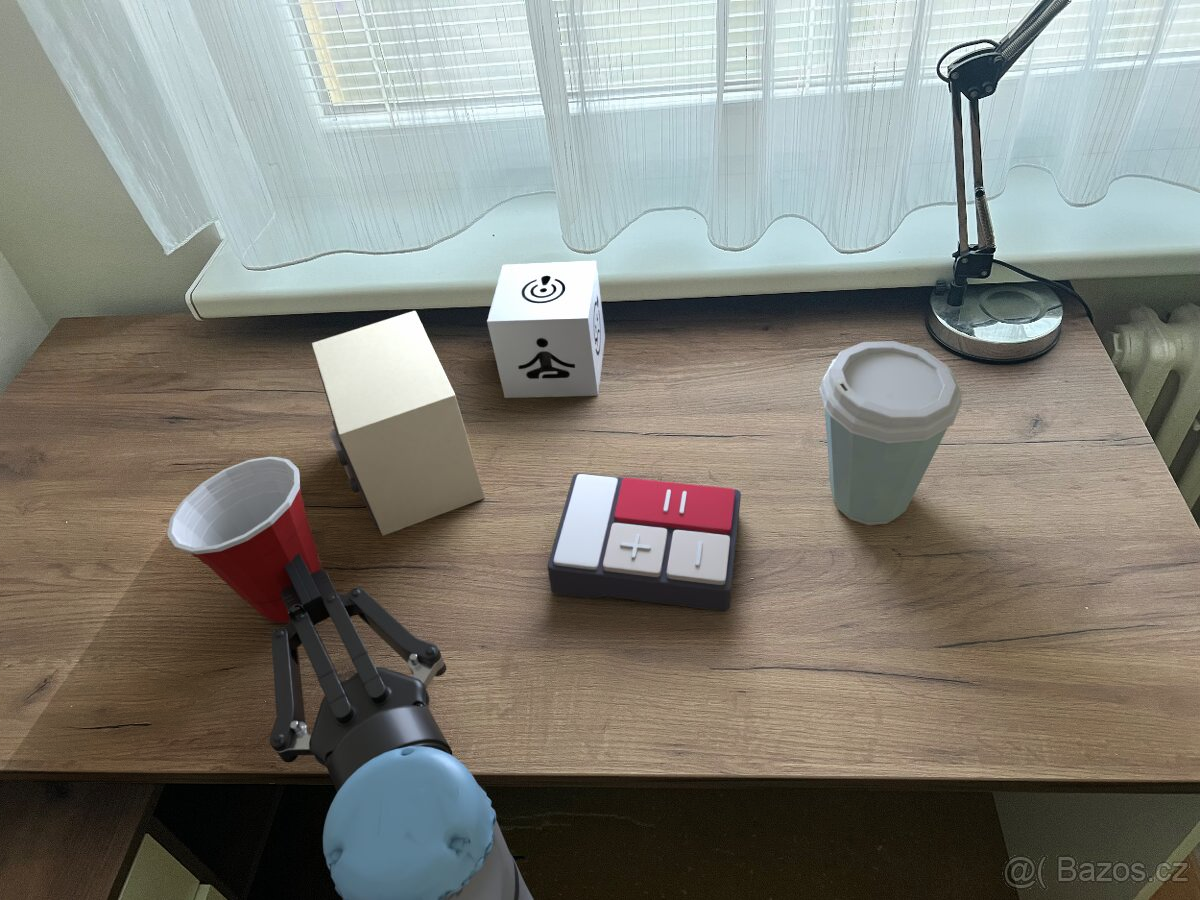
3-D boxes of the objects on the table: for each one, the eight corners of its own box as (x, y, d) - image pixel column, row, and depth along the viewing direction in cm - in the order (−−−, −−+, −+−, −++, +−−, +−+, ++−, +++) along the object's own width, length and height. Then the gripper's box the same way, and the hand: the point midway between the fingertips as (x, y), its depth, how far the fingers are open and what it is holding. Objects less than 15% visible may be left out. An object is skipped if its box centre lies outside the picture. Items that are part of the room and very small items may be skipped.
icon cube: (518, 339, 100) (502, 264, 93) (605, 336, 99) (596, 260, 92) (504, 397, 93) (486, 321, 86) (598, 395, 92) (587, 318, 85)
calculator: (731, 585, 68) (545, 563, 71) (728, 617, 71) (549, 594, 74) (742, 483, 76) (573, 465, 78) (738, 515, 79) (576, 497, 81)
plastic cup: (274, 546, 82) (216, 449, 74) (373, 557, 78) (324, 455, 71) (205, 639, 74) (133, 541, 67) (312, 655, 71) (249, 553, 63)
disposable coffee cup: (894, 446, 82) (919, 316, 72) (959, 528, 75) (997, 397, 64) (789, 476, 81) (799, 349, 70) (845, 564, 73) (865, 435, 63)
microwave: (372, 540, 80) (327, 438, 71) (343, 446, 90) (300, 346, 81) (485, 498, 83) (455, 395, 74) (445, 411, 92) (415, 310, 83)
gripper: (327, 868, 57) (232, 623, 72) (501, 759, 61) (377, 548, 77) (287, 821, 52) (193, 567, 67) (480, 705, 56) (351, 491, 71)
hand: (291, 557), depth 72 cm, fingers closed
